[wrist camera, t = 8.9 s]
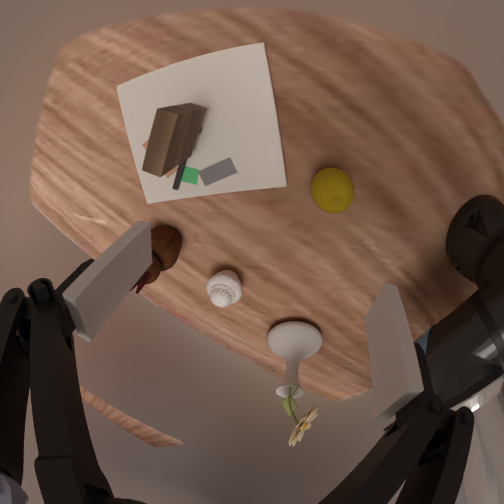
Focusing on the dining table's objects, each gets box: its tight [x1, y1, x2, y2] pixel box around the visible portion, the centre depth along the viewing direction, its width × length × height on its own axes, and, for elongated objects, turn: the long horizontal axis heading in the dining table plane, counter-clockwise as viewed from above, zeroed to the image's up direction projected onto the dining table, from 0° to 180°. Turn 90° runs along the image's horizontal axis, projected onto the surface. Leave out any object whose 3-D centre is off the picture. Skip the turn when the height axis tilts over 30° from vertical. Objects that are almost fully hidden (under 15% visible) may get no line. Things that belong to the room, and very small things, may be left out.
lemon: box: [311, 167, 354, 213], centre depth 33 cm, size 6×6×8 cm
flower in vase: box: [267, 321, 323, 446], centre depth 44 cm, size 13×11×25 cm
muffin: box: [206, 270, 242, 307], centre depth 46 cm, size 6×6×7 cm
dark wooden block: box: [142, 103, 207, 190], centre depth 31 cm, size 2×13×10 cm, turn 159°
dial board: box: [116, 43, 287, 204], centre depth 34 cm, size 20×22×2 cm
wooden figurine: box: [130, 226, 181, 294], centre depth 40 cm, size 7×6×15 cm
